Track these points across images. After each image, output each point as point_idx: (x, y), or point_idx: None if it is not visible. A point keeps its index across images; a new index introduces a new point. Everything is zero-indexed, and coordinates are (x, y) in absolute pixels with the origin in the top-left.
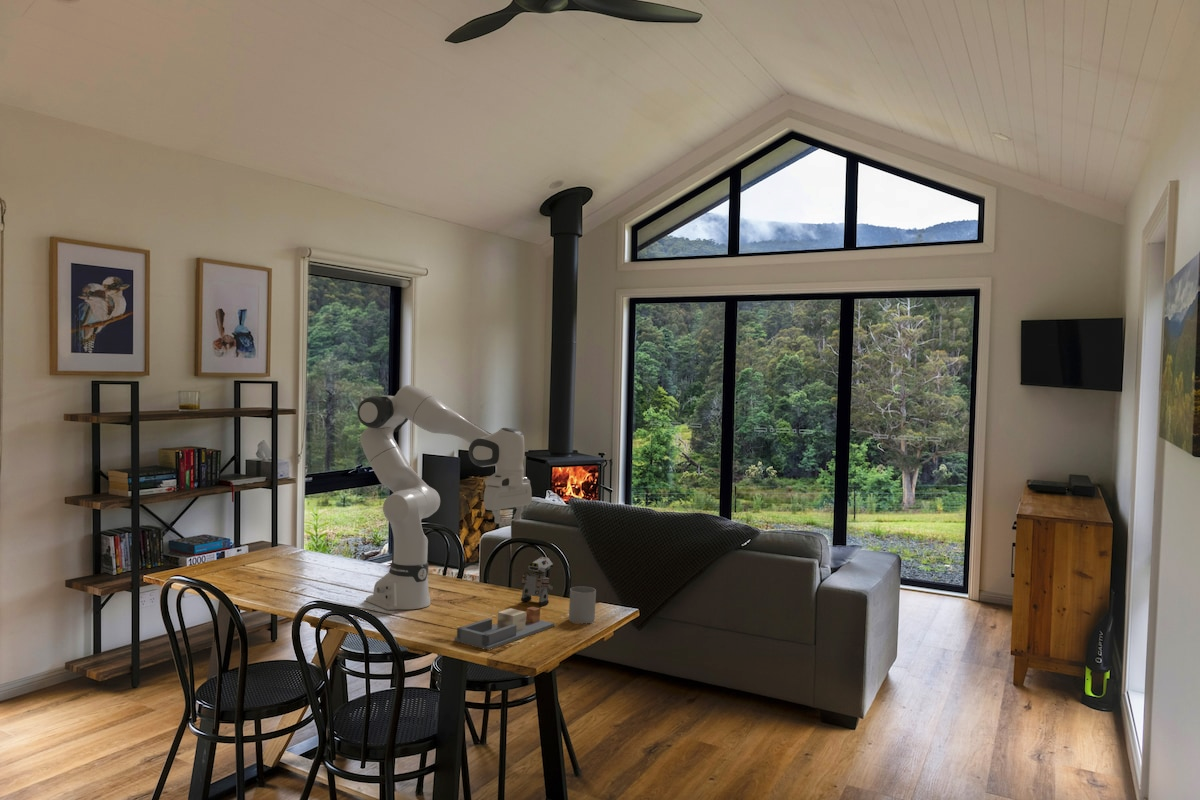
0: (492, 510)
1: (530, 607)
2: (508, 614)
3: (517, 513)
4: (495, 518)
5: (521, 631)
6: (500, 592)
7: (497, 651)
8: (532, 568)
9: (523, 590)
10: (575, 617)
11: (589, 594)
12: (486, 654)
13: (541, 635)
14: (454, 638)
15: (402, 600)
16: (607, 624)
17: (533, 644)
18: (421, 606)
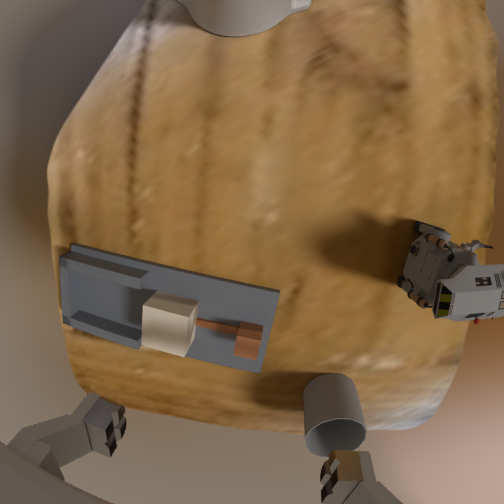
0: (12, 439)
1: (250, 339)
2: (143, 332)
3: (355, 498)
4: (75, 416)
5: None
6: (465, 132)
7: (83, 331)
8: (438, 292)
9: (430, 230)
10: (303, 399)
11: (314, 451)
12: None
13: (194, 367)
14: (72, 244)
15: (185, 2)
16: None
17: (143, 370)
18: (221, 33)
